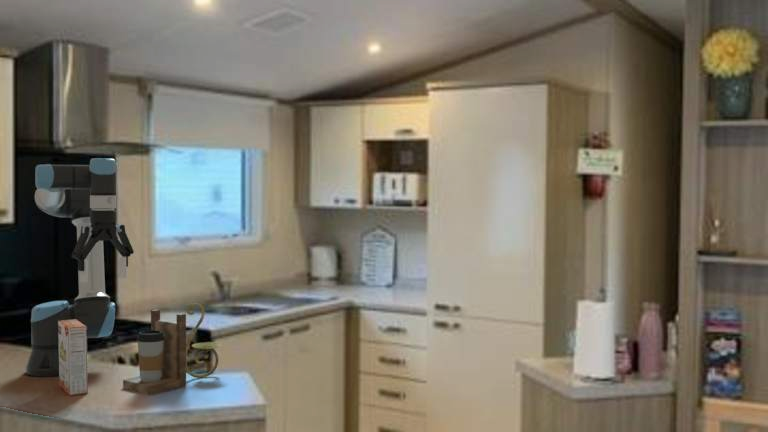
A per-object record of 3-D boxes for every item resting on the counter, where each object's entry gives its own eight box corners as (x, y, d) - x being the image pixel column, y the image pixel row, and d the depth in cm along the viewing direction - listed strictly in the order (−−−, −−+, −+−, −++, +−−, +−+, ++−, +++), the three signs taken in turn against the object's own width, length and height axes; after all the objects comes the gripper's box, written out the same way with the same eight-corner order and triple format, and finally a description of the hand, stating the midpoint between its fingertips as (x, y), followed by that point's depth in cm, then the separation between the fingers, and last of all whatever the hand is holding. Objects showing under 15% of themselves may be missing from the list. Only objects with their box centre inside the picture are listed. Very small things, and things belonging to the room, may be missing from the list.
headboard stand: (123, 387, 261) (122, 314, 260) (157, 379, 272) (156, 309, 271) (152, 395, 253) (151, 319, 252) (186, 386, 264) (185, 313, 263)
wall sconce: (186, 383, 267) (185, 306, 266) (174, 377, 275) (174, 302, 274) (226, 377, 276) (225, 302, 274) (213, 372, 283) (213, 298, 282)
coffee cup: (140, 377, 265) (139, 330, 264) (166, 376, 266) (166, 329, 265) (134, 383, 257) (134, 335, 256) (162, 383, 257) (162, 334, 257)
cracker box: (57, 386, 263) (57, 320, 262) (77, 383, 266) (77, 318, 265) (67, 396, 251) (66, 327, 250) (88, 393, 254) (87, 325, 253)
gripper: (73, 211, 240) (74, 284, 241) (145, 208, 260) (145, 276, 261) (58, 210, 244) (59, 282, 245) (129, 208, 264) (130, 275, 265)
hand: (103, 279), depth 253 cm, fingers open, 13 cm apart
